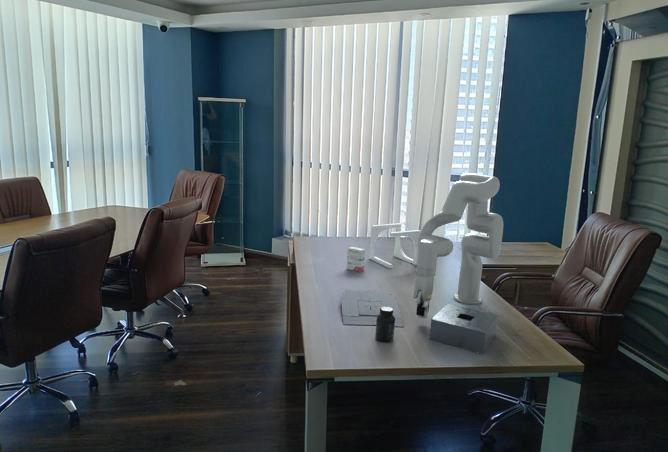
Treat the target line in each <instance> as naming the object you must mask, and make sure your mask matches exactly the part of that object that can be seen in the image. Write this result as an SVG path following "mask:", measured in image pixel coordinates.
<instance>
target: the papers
mask: <svg viewBox="0 0 668 452" xmlns="http://www.w3.org/2000/svg"><path fill="white" fill-rule="evenodd" d="M341 294H342V295H341V312H342V321H343V325H359V326H360V325H361V326H364V325H366V326H367V325H369V326H370V325H371V326H372V325H373V326H374V325H375V326H376V321H377V316H378V315H379V314H380V308H381V307H383V306H387V307H391V308H393V316H394V317H395V327H402V328H403V327H404V322H403V318H402V314H401V310H400V307H399V303H398V302H397V298H395V295H394V294H391V292H390V291H379V290H377V291H376V290H357V289H344V292H342V293H341Z"/></svg>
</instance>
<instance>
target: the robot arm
mask: <svg viewBox="0 0 668 452" xmlns="http://www.w3.org/2000/svg"><path fill="white" fill-rule="evenodd" d="M500 186H501V185H500V180H499V178H498V177H496V176H493V175H489V174H481V173H480V174H479V173H474V172H473V173H472V172H471V173H470V172H465V173H462V174H461V175H460V176H459V180H457V181H455V182H454V183H453V184H452V186H451V187H450V191H449V193H448V194H447V197H446V200H445V202H444V205H442V209H441V210H440V211H439V212H438V213H436V214H435V215H433V216H432V217H430V218H429V219H428V220H427V221H426V222H425V223H424V225H423V227H422V229H421V230H420V231H421V233H420V235H419V238H418V258H417V265H416V272H415V274H416V277H415V283H414V289H413V290H414V291H413V298H414V300H415V299H416V300H415V303H416V313H415V315H416V316H417V315H419V316H424V314H425V307H424V305H425V300H426V299H427V297H428V296H429V295H430V294H432V295H433V291H434V280H435V278H434V277H435V276H436V271H437V263H438V262H437V261H438V258H443V257H447V256H449V255H451V254H452V252H453V249H454V244H453V241H452V240H451V239H449V238H448V237H443V236H440V235H434V234H433V233H434V232H435V231H436V230H437V229H438V228H439V227H442V226H444V225H448V224H453V223H456V222H459V221H460V220H461V219H462V218H463V215H464V212H465V210H466V208H467V211H466V228H467V229H468V230H469V231H472V232H468V233H465V234H464V235H463V236H462V238H461V241H460V247H461V248H460V249H461V259H460V267H459V269H460V271H459V277H458V289H457V293H454V294H453V299H454V300H455V301H457V302H458V303H461V304H466V305H478V304H481V303H482V302H483V301H482V298H481V296H480V289H481V280H482V273H483V261H482V259H481V257H482V258H487V259H491V260H493V259H497V258H498V257H499V256H500V254H501V249H502V242H503V234H504V220H503V217H502V215H501V214H498V213H495V212H490V211H489V210H488V203H489V200H490V199H492V198H493V197H495V196H496V195H497V194H498V192H499V191H500ZM474 232H476V233H474ZM479 233H482V234H479ZM485 234H486V235H485ZM417 295H418V296H417ZM421 297H422V298H423V299H421ZM421 301H423V303H422V302H421ZM430 302H431V300H429V302H428V312H429V309H430Z"/></svg>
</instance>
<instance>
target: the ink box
mask: <svg viewBox="0 0 668 452" xmlns="http://www.w3.org/2000/svg"><path fill="white" fill-rule="evenodd" d="M346 254H347V255H346V256H347V257H346V269H347V270H350V271H354V272H355V271H356V272H360V273H361V272H363V271H364V270H365V259H366V258H365V257H366V249H365V248H360V247H357V246H356V247H355V246H350V247H348V248H347V253H346Z"/></svg>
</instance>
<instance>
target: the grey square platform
mask: <svg viewBox="0 0 668 452" xmlns="http://www.w3.org/2000/svg"><path fill="white" fill-rule="evenodd" d="M498 318H499V315H498V314H494V313H490V312H486V311H482V310H478V309H474V308H468V307H465V306H461V305H456V304H452V303H450V302H448V303H447V304H445V305H444V307H442V309H440V310H439V311H438V312H437V313H436V314H434V316H433V317H432V318H431V320H430V328H429V336H428V337H429V340H431V341H433V342H438V343H441V344H445V345H449V346H452V347H455V346H456V348H459V347H460V349H462V348H464V350H466V349H468V350H467V351H469V350H471V351H470V352H473V351H475V352H474V353H476V352H479V353H478V354H480V353H482V354H481V355H484V353H485V352H484V351H487V349H488V347H489V346H488V345H490V344H491V342H492V341H493V339H494V338H495V336H496V335H497V329H498V328H497V326H498V320H499V319H498ZM495 334H496V335H495ZM493 337H494V338H493ZM491 340H492V341H491ZM489 343H490V344H489ZM486 348H487V349H486Z"/></svg>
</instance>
